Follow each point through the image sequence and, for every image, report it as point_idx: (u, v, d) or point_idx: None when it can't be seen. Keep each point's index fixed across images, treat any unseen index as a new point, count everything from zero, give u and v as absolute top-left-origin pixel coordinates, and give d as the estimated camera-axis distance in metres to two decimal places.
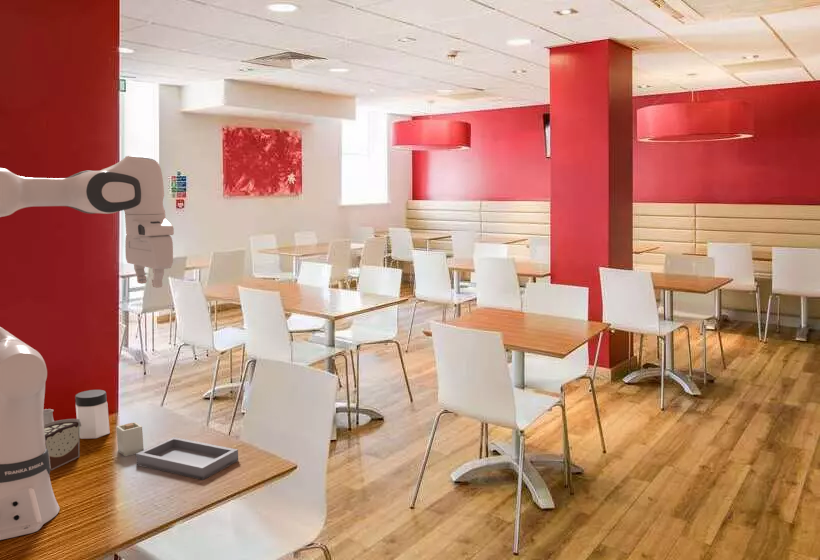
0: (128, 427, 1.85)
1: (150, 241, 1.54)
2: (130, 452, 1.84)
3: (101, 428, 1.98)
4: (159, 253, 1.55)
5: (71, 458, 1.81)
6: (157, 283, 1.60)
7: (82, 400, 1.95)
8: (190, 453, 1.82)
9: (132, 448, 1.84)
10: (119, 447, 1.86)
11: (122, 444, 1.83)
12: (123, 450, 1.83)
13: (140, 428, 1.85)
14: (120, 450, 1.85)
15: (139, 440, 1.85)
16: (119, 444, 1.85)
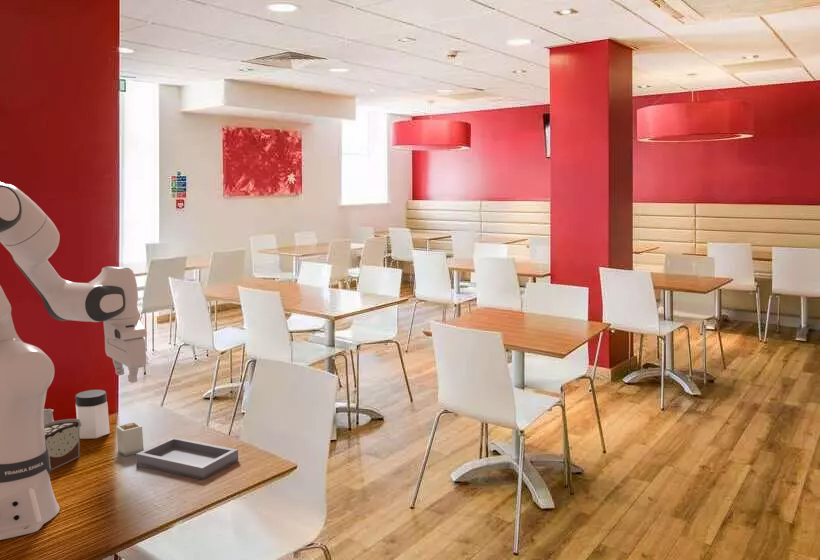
0: (128, 427, 1.85)
1: (125, 345, 1.74)
2: (130, 452, 1.84)
3: (101, 428, 1.98)
4: (133, 355, 1.75)
5: (71, 458, 1.81)
6: (132, 379, 1.80)
7: (82, 400, 1.95)
8: (190, 453, 1.82)
9: (132, 448, 1.84)
10: (119, 447, 1.86)
11: (122, 444, 1.83)
12: (123, 450, 1.83)
13: (140, 428, 1.85)
14: (120, 450, 1.85)
15: (139, 440, 1.85)
16: (119, 444, 1.85)
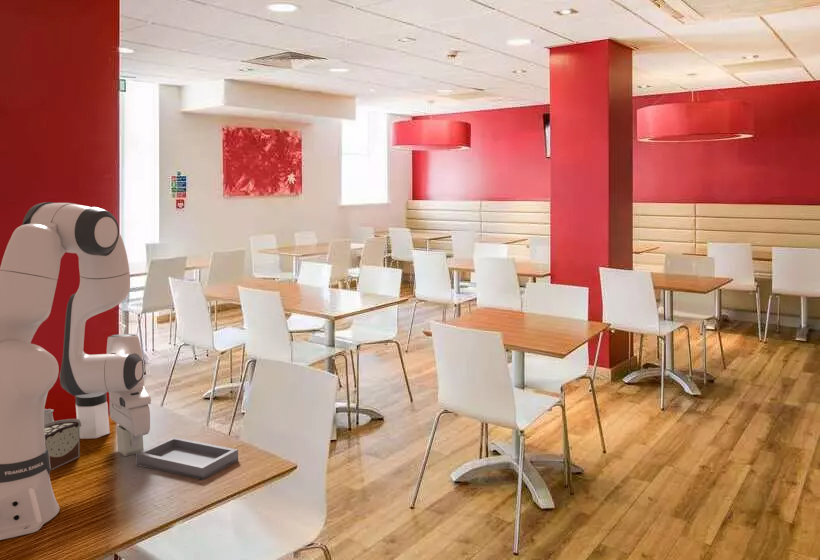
0: None
1: (130, 413, 1.77)
2: (130, 452, 1.84)
3: (101, 428, 1.98)
4: (138, 423, 1.77)
5: (71, 458, 1.81)
6: (134, 443, 1.83)
7: (82, 400, 1.95)
8: (190, 453, 1.82)
9: (132, 448, 1.84)
10: (119, 447, 1.86)
11: (122, 444, 1.83)
12: (123, 450, 1.83)
13: None
14: (120, 450, 1.85)
15: (139, 440, 1.85)
16: (119, 444, 1.85)
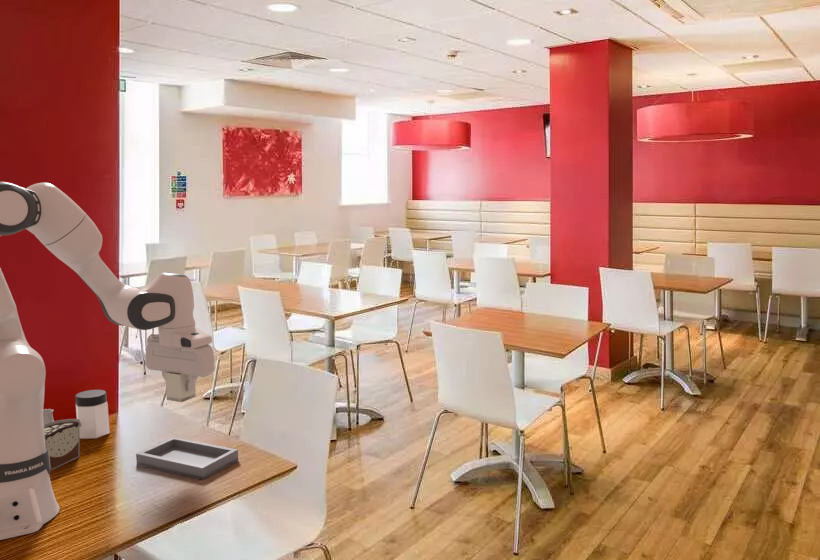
0: None
1: (197, 352, 1.69)
2: (185, 397, 1.75)
3: (101, 428, 1.98)
4: (205, 363, 1.70)
5: (71, 458, 1.81)
6: (191, 387, 1.74)
7: (82, 400, 1.95)
8: (190, 453, 1.82)
9: (187, 393, 1.75)
10: (170, 394, 1.75)
11: (177, 389, 1.73)
12: (179, 396, 1.73)
13: None
14: (171, 398, 1.75)
15: None
16: (170, 391, 1.75)
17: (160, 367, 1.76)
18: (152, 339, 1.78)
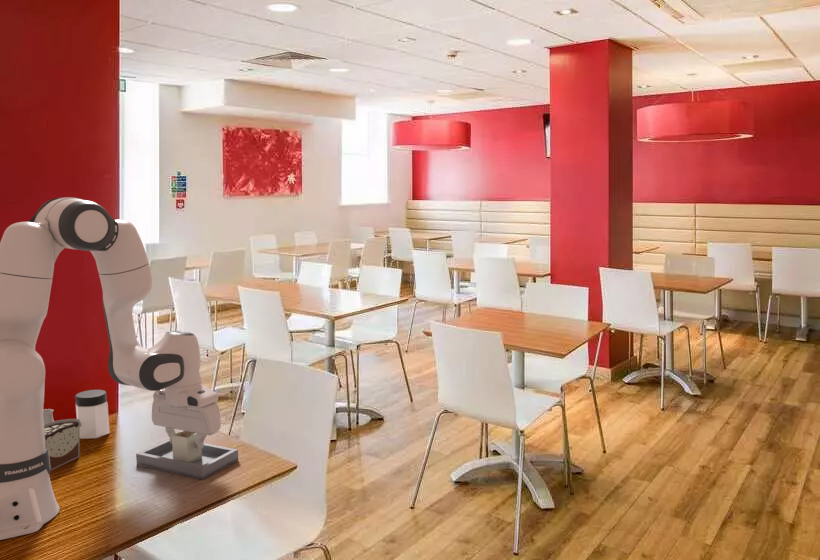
0: (187, 434, 1.76)
1: (203, 411, 1.70)
2: (192, 460, 1.76)
3: (101, 428, 1.98)
4: (212, 421, 1.71)
5: (71, 458, 1.81)
6: (200, 445, 1.75)
7: (82, 400, 1.95)
8: None
9: (193, 455, 1.77)
10: (176, 457, 1.76)
11: (184, 452, 1.75)
12: (185, 458, 1.75)
13: None
14: None
15: None
16: (177, 453, 1.76)
17: (166, 423, 1.77)
18: (158, 395, 1.79)
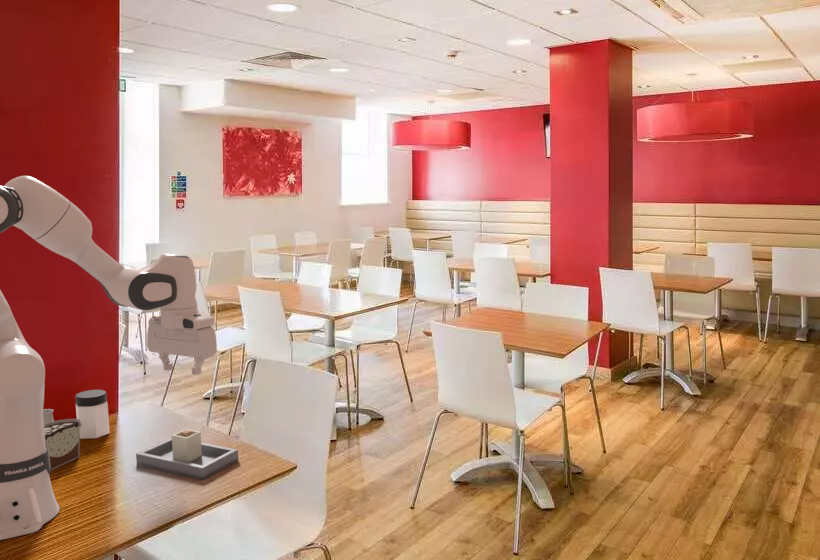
0: (187, 434, 1.76)
1: (199, 334, 1.68)
2: (192, 460, 1.76)
3: (101, 428, 1.98)
4: (208, 344, 1.69)
5: (71, 458, 1.81)
6: (198, 370, 1.72)
7: (82, 400, 1.95)
8: None
9: (193, 455, 1.77)
10: (176, 457, 1.76)
11: (184, 452, 1.75)
12: (185, 458, 1.75)
13: (199, 434, 1.78)
14: None
15: (198, 446, 1.78)
16: (177, 453, 1.76)
17: (162, 349, 1.75)
18: (154, 321, 1.77)
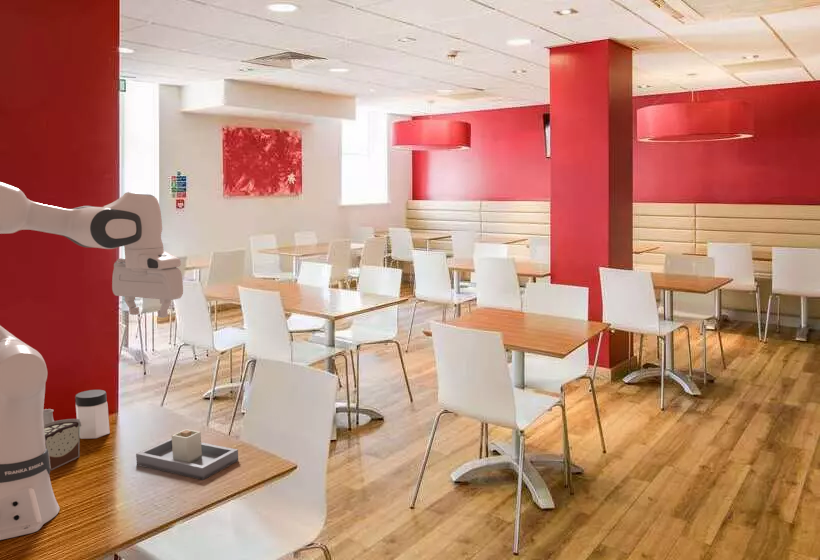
0: (187, 434, 1.76)
1: (164, 274, 1.63)
2: (192, 460, 1.76)
3: (101, 428, 1.98)
4: (173, 285, 1.64)
5: (71, 458, 1.81)
6: (164, 313, 1.67)
7: (82, 400, 1.95)
8: None
9: (193, 455, 1.77)
10: (176, 457, 1.76)
11: (184, 452, 1.75)
12: (185, 458, 1.75)
13: (199, 434, 1.78)
14: None
15: (198, 446, 1.78)
16: (177, 453, 1.76)
17: (127, 292, 1.70)
18: (119, 264, 1.71)
